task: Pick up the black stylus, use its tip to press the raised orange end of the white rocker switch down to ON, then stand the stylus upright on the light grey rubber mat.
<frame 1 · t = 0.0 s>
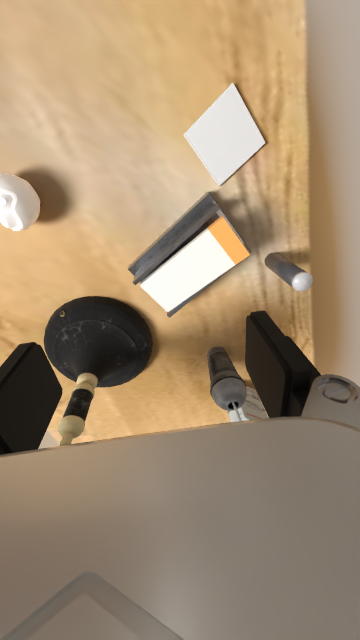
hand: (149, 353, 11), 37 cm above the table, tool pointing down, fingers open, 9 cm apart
ink box: (238, 389, 66), on the table
beverage cup: (216, 353, 59), on the table
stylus: (272, 260, 49), on the table
dark grey boxy piece: (187, 255, 47), on the table
stylus mat: (224, 139, 38), on the table
banker's lamp: (101, 342, 55), on the table
white rounded lump: (24, 199, 40), on the table
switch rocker: (191, 269, 40), point 8 cm above the table, hinge at -10.0°
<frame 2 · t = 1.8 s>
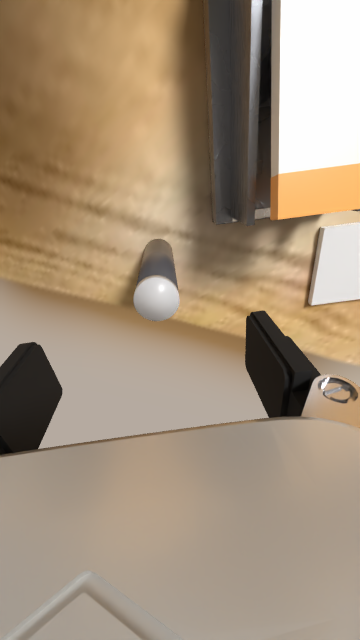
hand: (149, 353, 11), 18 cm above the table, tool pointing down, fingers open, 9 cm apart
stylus: (158, 253, 27), on the table
dark grey boxy piece: (278, 91, 20), on the table
stylus mat: (352, 262, 28), on the table
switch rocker: (338, 46, 14), point 8 cm above the table, hinge at -10.0°
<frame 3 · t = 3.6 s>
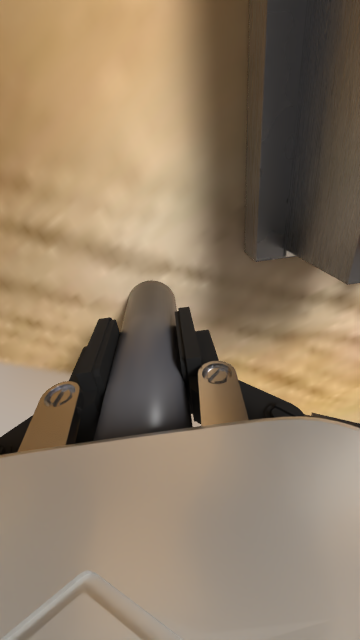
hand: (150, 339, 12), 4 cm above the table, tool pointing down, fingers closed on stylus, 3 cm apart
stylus: (152, 302, 16), on the table, touching gripper
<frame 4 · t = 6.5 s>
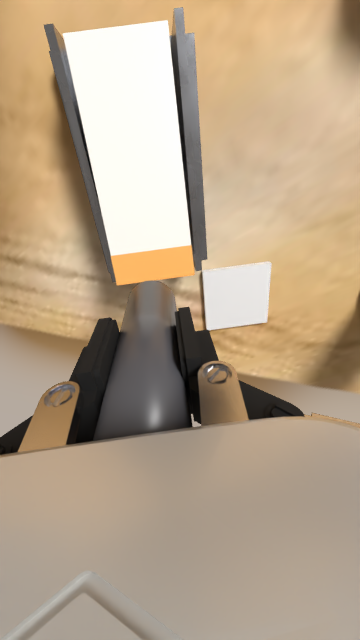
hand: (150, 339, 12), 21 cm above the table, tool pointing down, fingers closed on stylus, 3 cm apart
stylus: (152, 302, 16), point 17 cm above the table, touching gripper
dark grey boxy piece: (144, 175, 27), on the table
stylus mat: (235, 296, 35), on the table
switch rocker: (139, 174, 20), point 8 cm above the table, hinge at -10.0°
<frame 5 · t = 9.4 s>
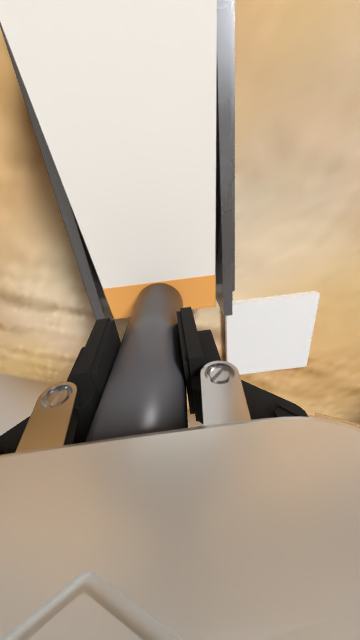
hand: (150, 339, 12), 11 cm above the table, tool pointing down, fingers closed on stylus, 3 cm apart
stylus: (160, 304, 16), point 7 cm above the table, touching gripper, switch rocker
dark grey boxy piece: (148, 174, 19), on the table
stylus mat: (266, 334, 26), on the table
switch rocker: (139, 171, 12), point 8 cm above the table, hinge at 13.8°, touching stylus
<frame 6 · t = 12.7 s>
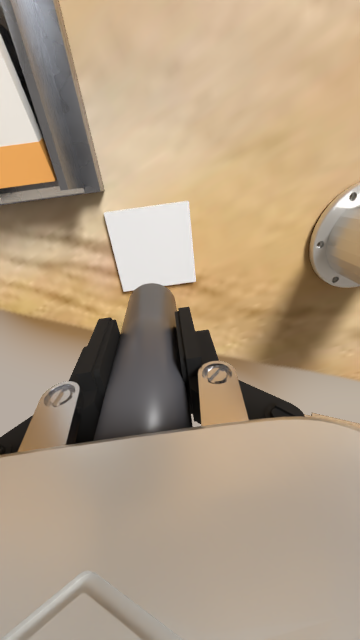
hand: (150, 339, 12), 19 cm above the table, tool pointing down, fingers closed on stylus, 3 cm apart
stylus: (152, 305, 16), point 15 cm above the table, touching gripper
dark grey boxy piece: (2, 72, 21), on the table
stylus mat: (153, 248, 29), on the table
when the fingers open (5 cm above the table, at t = 15.5 s): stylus stays where it is, resting on stylus mat.
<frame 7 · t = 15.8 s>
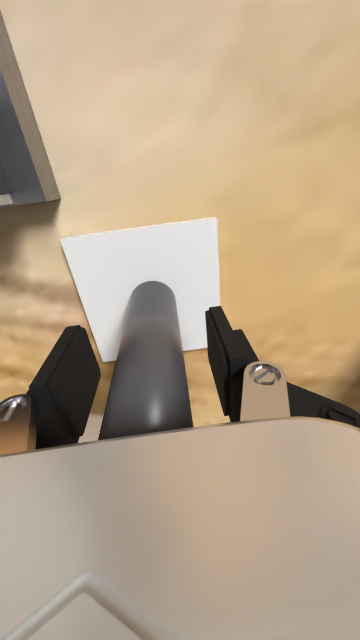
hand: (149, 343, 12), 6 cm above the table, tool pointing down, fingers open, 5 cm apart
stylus: (153, 302, 16), point 1 cm above the table, touching stylus mat
stylus mat: (152, 295, 17), on the table
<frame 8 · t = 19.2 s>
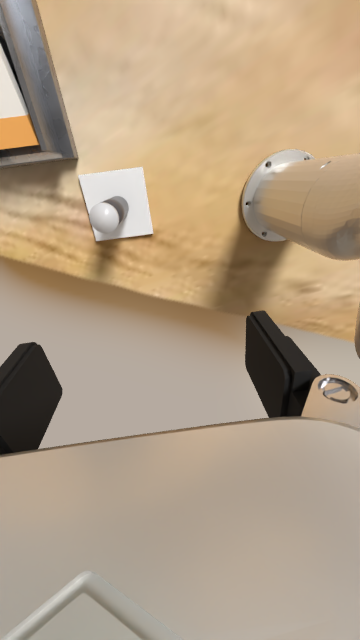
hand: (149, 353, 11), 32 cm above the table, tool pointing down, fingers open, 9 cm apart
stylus: (118, 207, 37), point 1 cm above the table, touching stylus mat
dark grey boxy piece: (2, 69, 29), on the table
stylus mat: (118, 205, 37), on the table
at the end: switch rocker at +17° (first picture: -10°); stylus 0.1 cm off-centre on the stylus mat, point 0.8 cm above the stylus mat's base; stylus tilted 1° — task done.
